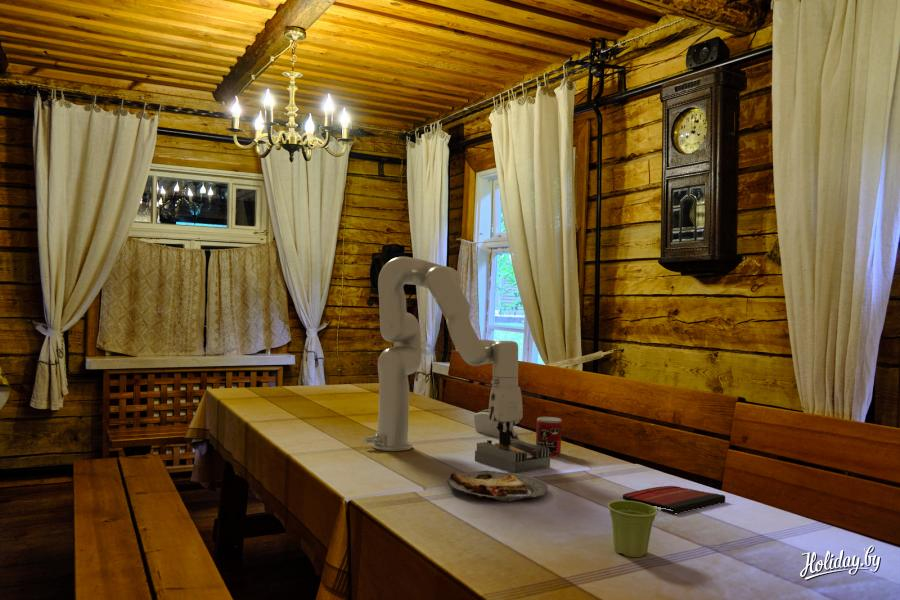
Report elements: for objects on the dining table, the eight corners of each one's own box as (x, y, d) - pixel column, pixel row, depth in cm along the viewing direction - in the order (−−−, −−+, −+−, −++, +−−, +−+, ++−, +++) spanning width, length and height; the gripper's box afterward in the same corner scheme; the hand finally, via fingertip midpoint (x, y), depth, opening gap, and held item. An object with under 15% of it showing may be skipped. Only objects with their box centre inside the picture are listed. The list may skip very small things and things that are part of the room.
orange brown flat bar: (523, 457, 200) (524, 455, 200) (495, 445, 209) (495, 443, 209) (530, 456, 202) (531, 454, 201) (502, 444, 211) (502, 442, 211)
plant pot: (647, 544, 141) (648, 501, 141) (662, 561, 132) (664, 515, 132) (600, 542, 141) (602, 499, 141) (613, 560, 132) (615, 514, 131)
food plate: (461, 505, 162) (462, 490, 162) (436, 480, 184) (437, 467, 185) (561, 504, 169) (562, 489, 169) (525, 480, 191) (526, 467, 191)
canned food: (532, 454, 220) (533, 419, 220) (540, 449, 227) (542, 415, 227) (555, 457, 216) (556, 421, 216) (563, 453, 223) (565, 418, 223)
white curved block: (519, 437, 245) (513, 411, 243) (510, 444, 242) (504, 417, 240) (485, 429, 257) (479, 404, 255) (476, 435, 255) (470, 410, 252)
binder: (725, 494, 174) (673, 507, 161) (725, 504, 174) (673, 517, 161) (670, 482, 187) (618, 493, 174) (670, 491, 187) (618, 502, 174)
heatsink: (514, 473, 194) (515, 452, 194) (474, 460, 208) (475, 441, 208) (549, 467, 203) (550, 447, 203) (509, 455, 216) (509, 436, 216)
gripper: (495, 385, 201) (494, 449, 201) (532, 382, 211) (531, 443, 211) (477, 383, 207) (477, 445, 207) (514, 380, 217) (514, 439, 216)
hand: (504, 444), depth 209 cm, fingers closed
